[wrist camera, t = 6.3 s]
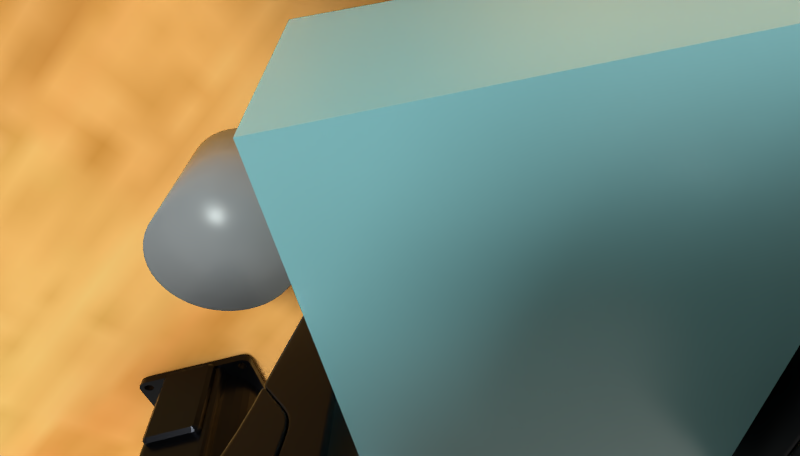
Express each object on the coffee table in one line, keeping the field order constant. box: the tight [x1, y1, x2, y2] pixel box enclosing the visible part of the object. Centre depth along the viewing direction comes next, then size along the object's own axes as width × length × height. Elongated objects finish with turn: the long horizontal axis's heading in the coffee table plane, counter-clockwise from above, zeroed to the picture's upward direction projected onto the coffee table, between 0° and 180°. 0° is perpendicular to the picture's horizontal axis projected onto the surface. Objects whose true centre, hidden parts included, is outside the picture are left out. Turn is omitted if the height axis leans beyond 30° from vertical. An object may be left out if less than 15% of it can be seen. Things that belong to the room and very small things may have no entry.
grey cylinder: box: [143, 128, 291, 311], centre depth 16 cm, size 5×5×6 cm
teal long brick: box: [233, 0, 800, 456], centre depth 8 cm, size 10×5×6 cm, turn 8°
